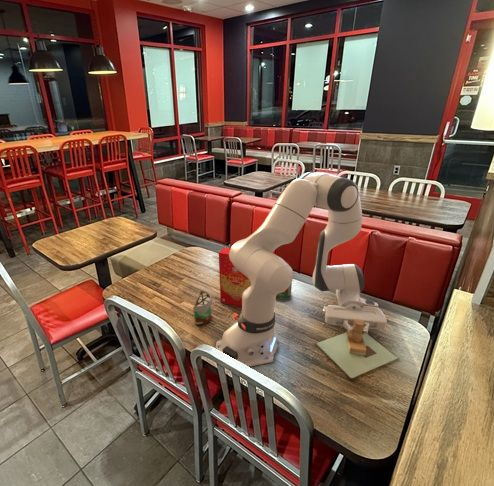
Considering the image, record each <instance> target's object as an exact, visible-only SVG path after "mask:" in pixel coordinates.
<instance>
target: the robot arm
mask: <svg viewBox="0 0 494 486" xmlns="http://www.w3.org/2000/svg"><path fill="white" fill-rule="evenodd" d="M314 207H318V208H321V209H324V210H327V217H328V218H327V225H326V226H325V228H324V229H323V230H321V231H320V233H319V235H318V241H317V246H316V256H315V263H314V269H313V272H312V284H313V286H314V287H315V288H316V289H317V290H319V291H320V292H330V291H335V295H336V299H337V305H336V304H335V305H333V304H327V305H324V306H323V307H322V311H323V312H324V313H325V314H324V322H325V323H326V324H327V325H334V326H343V328H344V329H346V330H347V331H348V333H353V331H354V329H353V325H354V320H355V319H362V320H363V321H364V322H365V324H364V329H363V334H365V335H369V329H373V330H381V331H384V330H385V329H386V328H387V325H388V320H387V318H386V315H385V314H384V312H383V311H382V309H380V308H379V304H378V303H377V302H375V301H372V300H368V299H365V298H363V297H361V294H362V292H363V290H364V288H365V285H366V284H365V278H364V277H365V276H364V273H363V271H362V269H361V267H359V266H358V265H357V264H355V263H348V264H347V263H346V264H336V265H335V264H334V265H327V263H328V259H329V253H330V251H331V250H332V249H333V248H335V247H338V246H340V245H341V244H344V243H347V242H349V241H352V240H353V239H354V238H356V236H358V234H359V233H360V232H361V230H362V225H363V209H362V201H361V196H360V193H359V188H358V185H357V184H356V182H355V181H353V180H352V179H350V178H348V177H341V176H338V175H335V174H332V173H329V172H317V171H307V172H304V173H302V174H301V175H300V176H298V178H296V179H293V180H292V181H291V182H290V183H289V184H288V185H287V186H286V187H285V188H284V190H283V191H282V193H280V195H279V196H278V197H277V200H276V201H275V203H274V204H273V206H272V207H271V210H270V211H269V212H268V214H267V215H266V218H265V219H264V221H262V224H261V225H260V226H259V227H258V228H257V229H256V230H255V231H254V232H253V233H251V234H250V235H249V236H248V237H246V238H243V239H240V240H237V241H236V242H234V243H233V245H232V246H231V247H230V248H231V249H230V252H229V258H230V261H231V262H232V264H233V265H234V266H235V268H236V269H237V270H238V271H240V272H241V273H242V274H244V275H245V276H246V277H248V278H249V280H250V282H251V286H250V287H248V288H247V289H246V290H245V291H244V292H243V294H242V307H241V311H240V314H238V312H234V313H232V315H231V317H232V318H233V321H235V322H234V323H233V324H232V325H230V327H228V328H227V329H226V330H225V331H224V332H223V334H222V336H221V338H220V339H219V340H217V341H216V342H215V349H216V348H217V349H219V350H221V351H222V352H223V353H225V354H227V355H229V356H230V357H232V358H234V359H236V360H238V361H240V362H242V363H244V364H246V365H247V366H249V367H254V366H259V365H260V366H261V365H264V364H269V363H273V362H274V355H275V354H276V352H277V351H278V342H277V337H276V333H275V325H276V312H275V307H276V299H275V298H276V295H277V294H279V293H281V292H283V291H285V290H286V289H287V288H288V287H289V286H290V285H291V283H292V284H293V279H294V269H293V268H292V267H291V265H290V264H289V263H288V262H287V261H285V259H283V258H282V257H281V256H278V255H277V254H275V253H274V252H275V250H277V249H278V248H279V247H281V246H283V245H289V244H291V243H293V242H294V241H295V239H296V238H297V236H298V235H299V233H300V231H301V230H302V228H303V226H304V224H305V223H306V221H307V220H308V218H309V216H310V215H311V212H312V210H313V208H314Z"/></svg>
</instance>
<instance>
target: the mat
mask: <svg viewBox="0 0 494 486" xmlns="http://www.w3.org/2000/svg"><path fill="white" fill-rule="evenodd" d="M345 335H346V332H343V333H340V334H338V335H335V336H332V337H330V338H327V339H324V340H321V341H318V342H316V345H317V346H318V347H319V348H320V349H321V350H322V351H323V352H324V353H325V354H326V355H327V356H328V357H329V358H330V359H331V360H332V361H333V363H335V364H336V365H337V366H338V367H339V368H340V369H341V370H342V371H343V372H344V373H345V374H346V375H347V376H348V377H349V378H350V379H353V378H356V377H358V376H361V375H363V374H365V373H368V372H369V371H373V370H374V369H377V368H379V367H381V366H384V365H386V364H388V363H391V362H393V361H396V360H397V359H398V357H397V356H396V355H395V354H393V353H392V352H391V351H390V350H388V349H387V348H386V347H384V346H383V345H381V344H380V343H379V342H378V341H377V340H375V339H374V338H373V337H372V336H370V334H368V335H365V334H362V337H363V340H364V344H365V347H366V354H365V355H358V354H350V353H349V349H348V345H347V340H346V336H345Z"/></svg>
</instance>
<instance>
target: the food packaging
mask: <svg viewBox="0 0 494 486" xmlns="http://www.w3.org/2000/svg"><path fill="white" fill-rule="evenodd" d="M230 249H231V247H222V249H221V250H220V251H219V252H218V270H219V272H218V273H219V293H220V294H219V295H220V303H221V304H224V305H230V306H234V307H238V308H242V294H243V292H244V291H245V290H246V289H247V288H248V287H250V286H251V282H250V280H249V278H248V277H246V276H245V275H244V274H242V273H241V272H240V271H238V270H237V269H236V268H235V266H234V265H233V264H232V262H231V261H230V258H229V252H230Z"/></svg>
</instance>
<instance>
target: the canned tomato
mask: <svg viewBox="0 0 494 486" xmlns="http://www.w3.org/2000/svg"><path fill="white" fill-rule="evenodd" d="M292 284H293V282H292V283H291V285H290V286H289V287H288V288H287V289H286V290H285V291H283V292H281V293H279V294H277V295H276V298H275V301H276V300H277V301H279V302H287V301H289V300H291V299H292V289H293V288H292V286H293V285H292Z"/></svg>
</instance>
